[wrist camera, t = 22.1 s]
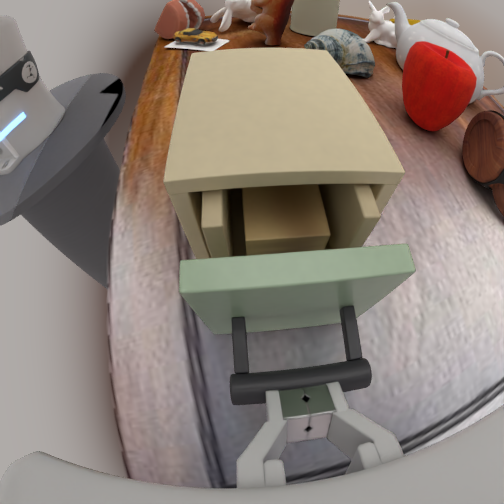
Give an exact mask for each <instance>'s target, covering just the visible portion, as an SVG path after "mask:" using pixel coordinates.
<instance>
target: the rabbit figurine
mask: <svg viewBox="0 0 504 504" xmlns="http://www.w3.org/2000/svg"><path fill="white" fill-rule="evenodd" d="M369 4H370V9H371V10H372V13H371V14H370V18H369V20H370V22H369V25H368V27H369V30H370V31H371V32H370V33H369V34H368V36H367V37H366V38H365V39H363V40H364V41H365V42H367V43H369V42H371V41H375V43H377V44H380V45H385V46H387V47H391V48H397V40H396V36H395V24H394V23H392V22H391V21H386V20H384V15H383V14H385V13H388V12H389V11H390V9H389V7H388V6H386V7H384V8H382V9H381V10H380V11H377V10H376V9H375V7H374V5H373V4H372V2H371V1H369ZM394 18H395V16H394Z"/></svg>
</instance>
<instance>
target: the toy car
mask: <svg viewBox="0 0 504 504" xmlns="http://www.w3.org/2000/svg"><path fill="white" fill-rule="evenodd" d="M173 39H174V40H175V41H174V42H172V43H170V44H169V45H167V46H165V47H169V48H183V49H194V50H203V51H214V50H216V49H217V48H219V47H220V46H222V45H224V44H225V43H227V42H229V41H230V40H223V39H218V35H217V34H216V33H214V32H208V31H201V30H200V29H199V30H198V29H196V28H187V29H184V30H182V31H178V32H176V33H175V34H174V36H173Z"/></svg>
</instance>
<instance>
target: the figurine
mask: <svg viewBox="0 0 504 504" xmlns="http://www.w3.org/2000/svg"><path fill="white" fill-rule="evenodd" d="M293 3H294V0H251V6H250V9H251V10H252V11H254V12H255V13H256V14H258V15H257V16H256V17H255V23H252V24H251V25H250V26H248V29H251V30H255V31H258V32H260V33H262V34H264V35H266V37H267V39H266V41H265V44H266V45H271V46H274V45H280V44H281V37H282V34H283V32H284V29H285V27H286V25H287V22H288V19H289V15H290V11H291V7H292V5H293Z"/></svg>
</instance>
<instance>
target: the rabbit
mask: <svg viewBox="0 0 504 504" xmlns="http://www.w3.org/2000/svg"><path fill="white" fill-rule="evenodd" d="M250 6H251V0H225V7H224V8H222V9H220V10H219V11H218V12H216V13H215V14H214V15H213V16H212V17H211V22H212V23H215V22H216V21H217V20H218V19H219V18H220V17H221V16H223V15H224V16H223V19H222V23H221V26H220V27H219V31H220V32H223V31H225V30H227V29H228V28H229V27H230V25H231V20H232V16H233V17H236V18H239V19H242V20H243V21H245V22H249V23H251V22H255V17H256V16H257V15H258V14H256V13H255V12H254V11H252V10H251V9H250Z"/></svg>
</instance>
